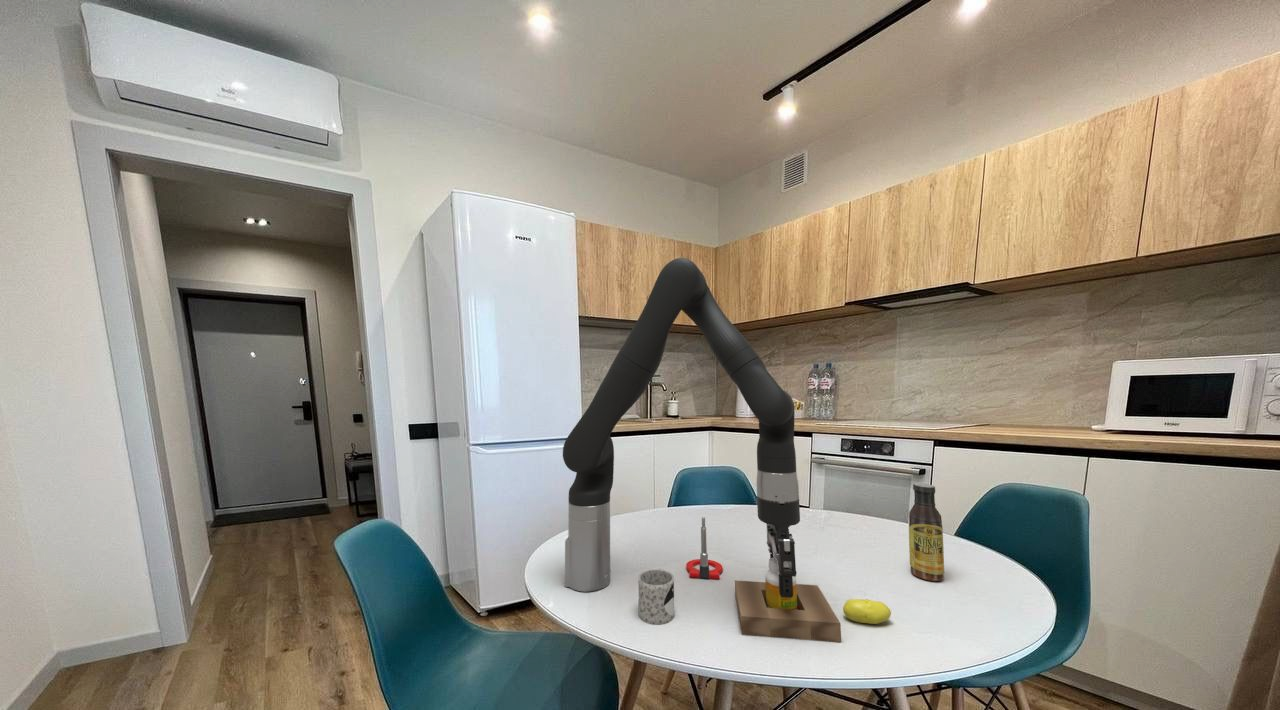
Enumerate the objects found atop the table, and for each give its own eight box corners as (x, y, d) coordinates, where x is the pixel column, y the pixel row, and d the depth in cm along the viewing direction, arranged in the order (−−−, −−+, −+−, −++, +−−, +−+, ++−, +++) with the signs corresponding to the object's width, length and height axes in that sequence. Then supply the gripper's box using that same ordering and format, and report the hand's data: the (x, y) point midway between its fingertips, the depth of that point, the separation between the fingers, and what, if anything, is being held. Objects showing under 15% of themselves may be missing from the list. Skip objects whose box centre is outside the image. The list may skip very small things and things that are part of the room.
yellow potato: (840, 613, 74) (838, 591, 74) (887, 617, 72) (885, 595, 73) (847, 626, 70) (845, 603, 70) (897, 631, 68) (895, 607, 69)
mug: (673, 626, 70) (672, 587, 71) (636, 623, 71) (635, 584, 72) (676, 597, 80) (676, 563, 81) (644, 595, 81) (643, 561, 82)
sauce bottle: (914, 580, 86) (907, 486, 88) (907, 568, 92) (901, 480, 94) (951, 585, 84) (943, 488, 86) (941, 573, 89) (934, 482, 91)
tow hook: (686, 562, 97) (685, 578, 88) (686, 508, 99) (684, 517, 90) (721, 565, 96) (723, 581, 87) (720, 509, 98) (722, 519, 89)
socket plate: (741, 634, 68) (741, 616, 68) (734, 595, 80) (734, 580, 81) (841, 642, 65) (840, 623, 65) (818, 601, 78) (817, 585, 78)
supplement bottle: (782, 628, 69) (780, 570, 70) (760, 613, 74) (758, 559, 75) (804, 619, 72) (801, 563, 73) (781, 605, 76) (779, 553, 77)
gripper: (752, 485, 82) (755, 566, 81) (762, 504, 68) (766, 603, 67) (789, 486, 81) (793, 569, 80) (808, 506, 67) (813, 606, 66)
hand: (781, 584), depth 73 cm, fingers open, 8 cm apart
